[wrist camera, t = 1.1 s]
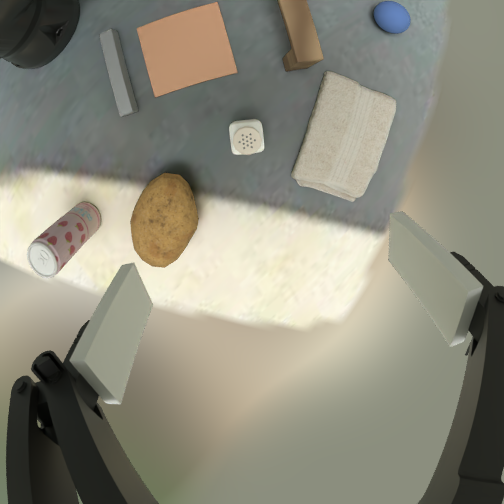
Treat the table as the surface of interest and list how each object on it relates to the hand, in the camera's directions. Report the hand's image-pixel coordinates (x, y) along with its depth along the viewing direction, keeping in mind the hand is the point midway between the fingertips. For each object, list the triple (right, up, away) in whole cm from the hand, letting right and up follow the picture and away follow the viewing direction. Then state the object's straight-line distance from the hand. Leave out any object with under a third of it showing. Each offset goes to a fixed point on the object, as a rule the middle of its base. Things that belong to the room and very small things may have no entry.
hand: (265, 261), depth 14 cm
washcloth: (+13, +18, +26) cm, 34 cm away
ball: (+19, +34, +13) cm, 41 cm away
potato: (-13, +7, +30) cm, 33 cm away
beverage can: (-28, +7, +30) cm, 42 cm away
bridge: (+4, +32, +17) cm, 36 cm away
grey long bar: (-20, +27, +19) cm, 38 cm away
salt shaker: (-1, +17, +25) cm, 30 cm away
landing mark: (-10, +29, +18) cm, 35 cm away
